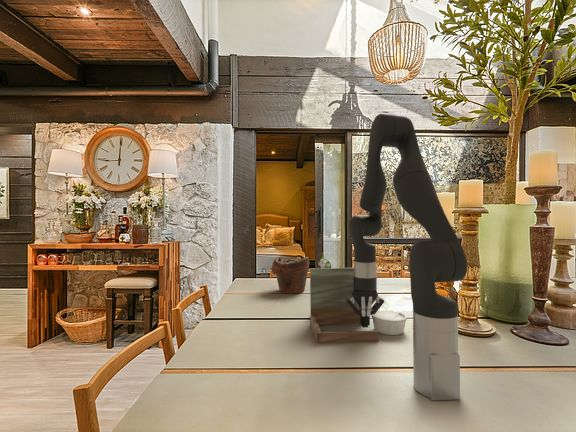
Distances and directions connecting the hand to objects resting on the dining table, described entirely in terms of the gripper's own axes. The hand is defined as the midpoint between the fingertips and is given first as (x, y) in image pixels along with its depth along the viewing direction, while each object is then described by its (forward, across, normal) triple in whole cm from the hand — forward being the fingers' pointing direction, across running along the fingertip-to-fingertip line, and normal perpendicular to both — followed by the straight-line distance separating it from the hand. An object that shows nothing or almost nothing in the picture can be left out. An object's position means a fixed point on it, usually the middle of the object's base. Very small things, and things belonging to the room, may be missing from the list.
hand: (365, 326), depth 112 cm
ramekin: (+2, +8, 0) cm, 8 cm away
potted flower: (+2, -10, +17) cm, 20 cm away
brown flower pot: (+2, -20, +61) cm, 64 cm away
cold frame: (+2, -7, 0) cm, 7 cm away
